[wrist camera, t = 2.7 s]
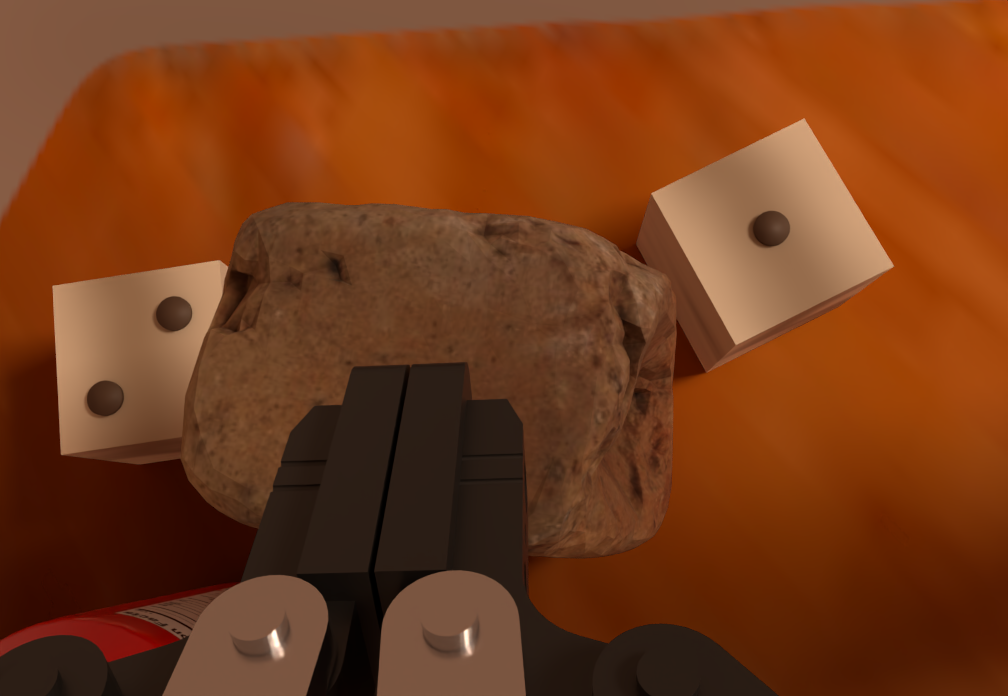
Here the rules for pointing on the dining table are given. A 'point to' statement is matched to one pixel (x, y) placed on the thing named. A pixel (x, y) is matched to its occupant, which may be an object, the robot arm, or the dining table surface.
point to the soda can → (127, 623)
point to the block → (446, 354)
